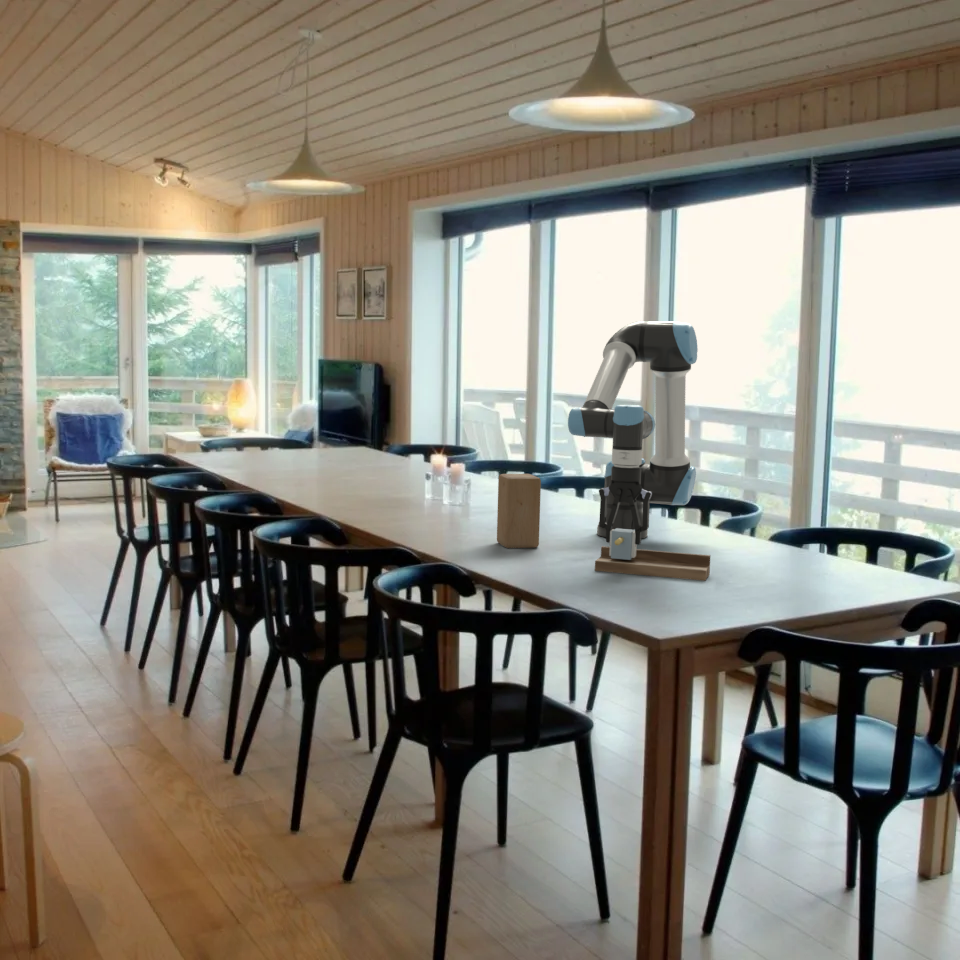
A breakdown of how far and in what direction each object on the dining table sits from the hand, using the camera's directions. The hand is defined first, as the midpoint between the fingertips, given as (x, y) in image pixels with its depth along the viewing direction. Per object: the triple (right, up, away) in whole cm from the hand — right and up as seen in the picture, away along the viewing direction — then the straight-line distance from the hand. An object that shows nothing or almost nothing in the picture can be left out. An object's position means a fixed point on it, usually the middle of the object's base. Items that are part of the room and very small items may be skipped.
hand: (622, 555), depth 293 cm
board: (+7, -4, -2) cm, 9 cm away
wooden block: (-26, +1, +31) cm, 40 cm away
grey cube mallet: (-1, -1, -3) cm, 3 cm away
